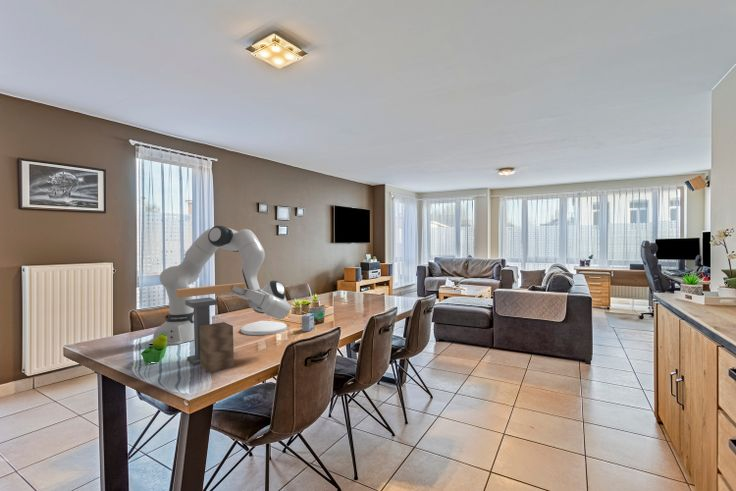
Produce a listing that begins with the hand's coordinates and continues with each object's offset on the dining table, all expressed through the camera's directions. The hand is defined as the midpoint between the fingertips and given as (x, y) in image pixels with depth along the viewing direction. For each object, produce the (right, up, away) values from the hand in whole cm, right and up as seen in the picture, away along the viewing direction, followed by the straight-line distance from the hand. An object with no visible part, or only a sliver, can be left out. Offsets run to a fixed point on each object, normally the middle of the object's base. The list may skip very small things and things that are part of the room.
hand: (230, 286), depth 150 cm
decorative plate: (-2, -32, +55) cm, 64 cm away
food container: (+28, -30, +69) cm, 80 cm away
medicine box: (+24, -31, +53) cm, 65 cm away
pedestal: (-4, -32, -3) cm, 33 cm away
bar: (-5, -2, -5) cm, 7 cm away
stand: (-14, -32, +4) cm, 35 cm away
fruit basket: (-34, -33, +6) cm, 48 cm away
